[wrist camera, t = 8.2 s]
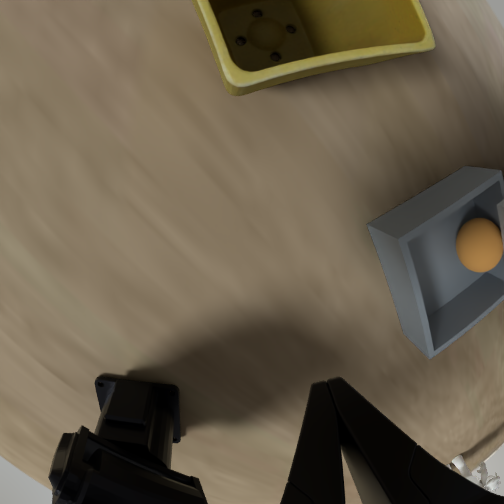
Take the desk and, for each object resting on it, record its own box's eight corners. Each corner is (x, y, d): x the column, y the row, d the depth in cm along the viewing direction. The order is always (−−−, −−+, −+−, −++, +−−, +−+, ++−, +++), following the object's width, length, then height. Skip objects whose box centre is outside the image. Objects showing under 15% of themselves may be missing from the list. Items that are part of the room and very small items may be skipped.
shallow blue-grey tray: (403, 333, 23) (429, 359, 19) (366, 224, 20) (397, 239, 16) (486, 271, 23) (516, 287, 19) (465, 165, 20) (501, 170, 16)
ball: (504, 265, 19) (471, 291, 20) (475, 230, 22) (442, 252, 22) (519, 236, 16) (485, 264, 16) (485, 198, 19) (450, 222, 19)
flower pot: (354, 85, 18) (442, 49, 9) (222, 123, 18) (231, 90, 9) (304, -25, 15) (354, -102, 6) (176, 3, 15) (158, -84, 6)
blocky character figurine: (471, 441, 32) (512, 491, 20) (475, 447, 33) (512, 495, 21) (423, 479, 33) (457, 534, 21) (429, 484, 34) (461, 535, 22)
